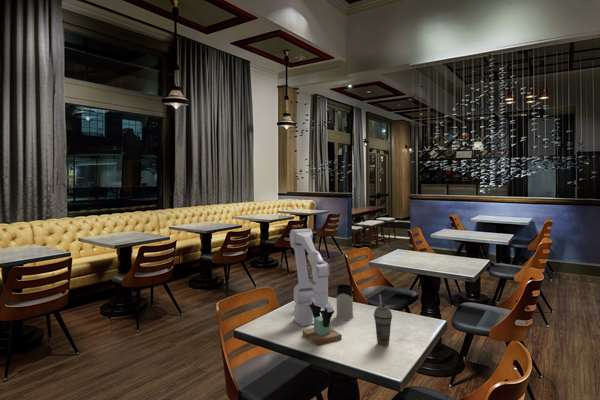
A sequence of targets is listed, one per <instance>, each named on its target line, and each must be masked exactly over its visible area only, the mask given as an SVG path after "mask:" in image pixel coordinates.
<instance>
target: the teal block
mask: <svg viewBox="0 0 600 400" xmlns="http://www.w3.org/2000/svg"><path fill="white" fill-rule="evenodd" d="M313 320H314V324H313V328H314V332H316V333H317V334H319V335H320V336H321V335H325V334H329V333H330V328H331V322H330V323H329V327H324V326H323V318H322V315H320V316H319V317H315V318H314V317H313Z"/></svg>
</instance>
